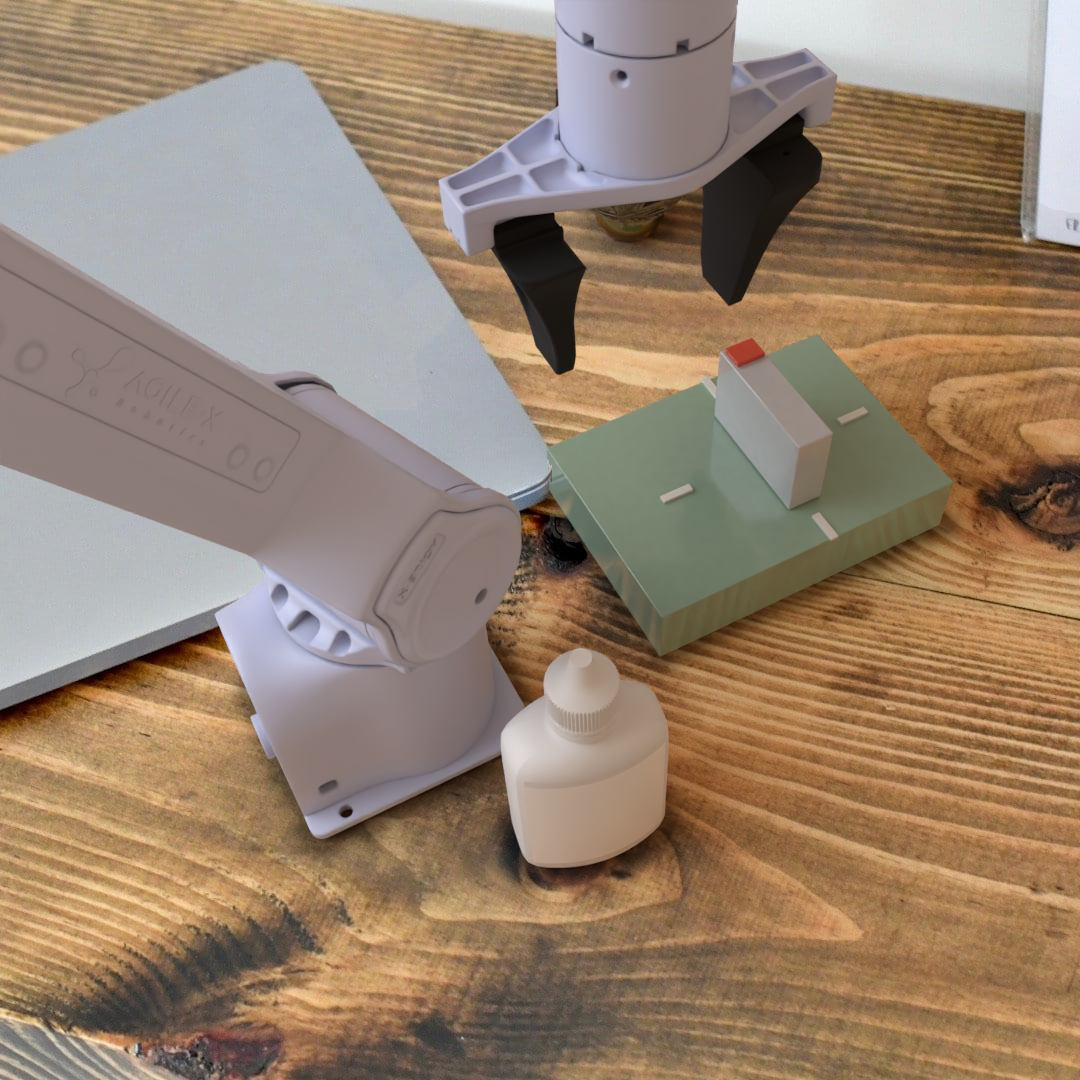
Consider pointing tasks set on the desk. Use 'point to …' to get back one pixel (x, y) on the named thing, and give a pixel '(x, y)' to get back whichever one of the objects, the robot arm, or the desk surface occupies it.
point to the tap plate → (739, 501)
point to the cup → (632, 216)
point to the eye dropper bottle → (585, 764)
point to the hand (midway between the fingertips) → (639, 322)
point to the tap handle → (772, 423)
